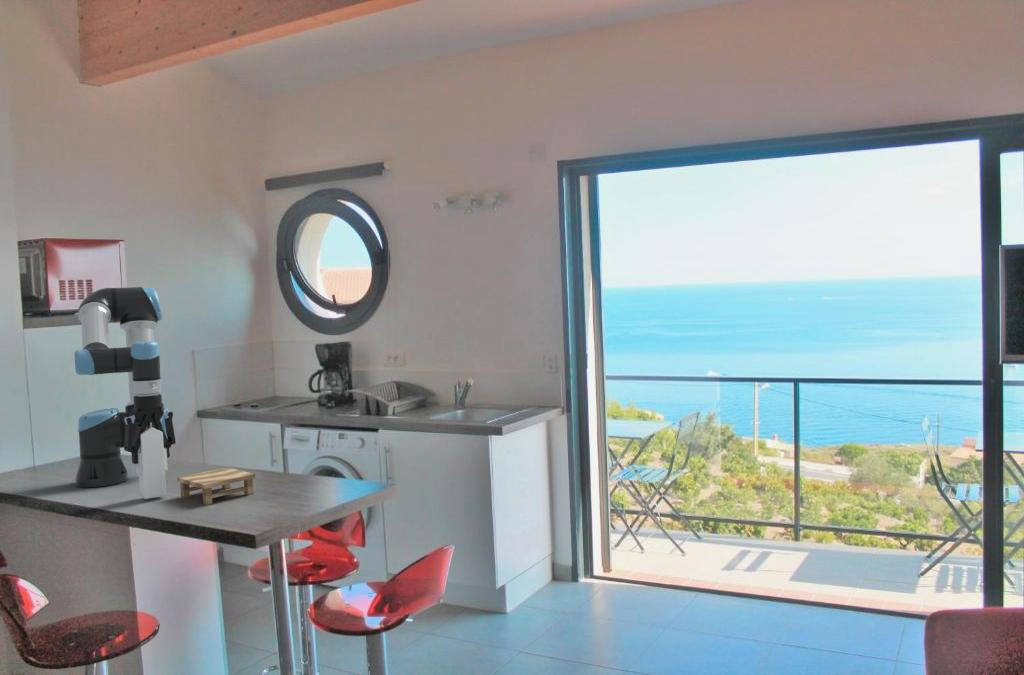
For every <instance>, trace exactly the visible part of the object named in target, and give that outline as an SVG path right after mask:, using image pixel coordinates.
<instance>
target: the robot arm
mask: <svg viewBox="0 0 1024 675" xmlns="http://www.w3.org/2000/svg"><path fill="white" fill-rule="evenodd" d="M162 315H163V314H162V310H161V302H160V298H159V294H158V293H157V291H156V289H155V288H154V287H149V286H148V287H147V286H145V287H144V286H137V287H136V286H135V287H104V288H100V289H98V290H96V291H93V292H92V293H90V294H89V295H87V296H86V297H85V298H84V299H83V300H82V301H81V302H80V304H79V307H78V310H77V319H78V321H79V322H80V324H81V349H77V350H76V351H75V352H74V368H75V373H76V374H77V375H79V376H84V375H85V376H94V375H105V374H107V375H108V374H120V373H122V374H123V373H127V374H128V376H127V378H128V391H129V402H128V403H127V404H126V405H125V406H124V407H125V408H124V410H125V411H121V412H120V411H119V409H118V408H117V407H112V408H103V409H98V410H94V411H90V412H87V413H84V414H82V415H81V416H79V418H78V422H77V423H78V426H77V427H78V429H77V432H78V437H79V438H78V440H79V442H78V443H79V460H80V461H79V465H78V468H77V471H76V476H75V478H74V479H75V480H74V481H75V486H76V487H78V488H99V487H108V486H112V485H117V484H121V483H123V482H126V481H128V479H129V474H128V473H129V472H128V469H127V467H126V466H125V463H124V461H123V458H122V455H121V454H122V452H121V449H123V450H124V451H125V452H129V453H130V455H131V463H132V464H133V465H134V468H135V475H138V476H139V475H142V457H141V452H138V451H139V448H140V444H141V440H140V434H142V433H143V432H144V431H145V429H146V427H148V426H150V422H151V423H152V427H153V428H155V429H157V430H159V431H161V432H163V444H164V462H165V471H168V459H169V458H170V457H171V456H170V454H171V453H170V448H171V447H172V445H176V444H177V442H176V437H175V429H174V423H173V416H174V412H173V411H170V410H169V408H168V407H165V406H164V405H165V404H164V402H163V398H162V396H163V395H162V394H161V393H162V380H161V379H162V378H161V360H160V357H161V356H160V355H161V351H160V347H159V343H158V341H155V337H154V334H155V333H154V330H155V329H156V328H157V327H158V325H159V324H158V322H160V321H162V320H163V316H162ZM109 323H119V327H120V329H122V330H123V331H124V332H125V343H126V345H125V346H126V347H125V346H124V347H111V342H110V330H109V328H110V327H109Z"/></svg>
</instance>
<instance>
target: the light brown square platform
mask: <svg viewBox="0 0 1024 675" xmlns="http://www.w3.org/2000/svg"><path fill="white" fill-rule="evenodd" d="M254 479H256V474H255V473H253V472H249V471H244V470H239V469H235V468H233V467H227V466H226V467H222V468H217V469H212V470H208V471H202V472H198V473H193V474H188V475H182V476H178V477H176V482H178V483H179V485H180V497H181V498H182V499H187V498H190V497H191V494H190V492H194V491H199V490H202V504H203V505H205V506H209V505H213V499H215V498H218V497H222V496H227V495H231V494H236V493H240V492H244V493H243V494H244V495H246V496H250V495H252V496H253V494H254V482H253V480H254ZM238 482H239V483H240V482H243V486H240V487H236V488H232V489H231V484H234V483H238ZM216 487H221V489H223V490H222V491H218V492H215V493H213V492H212V488H216Z"/></svg>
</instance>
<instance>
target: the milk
mask: <svg viewBox="0 0 1024 675" xmlns="http://www.w3.org/2000/svg"><path fill="white" fill-rule="evenodd" d="M140 440H141V444H140V448H139V451H138V452H141V457H142V475H138V481H139V495H140V496H141V497H142V498H143V499H144V500H145V499H146V500H148V499H152V498H158V497H164V496H165V497H166V496H167V484H166V482H167V481H166V470H165V462H164V444H163V432H161V431H159V430H157V429H155V428H153V427H152V423H151V422H150V426H148V427H146V429H145V431H144V432H143V433H142V434H140Z"/></svg>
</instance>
